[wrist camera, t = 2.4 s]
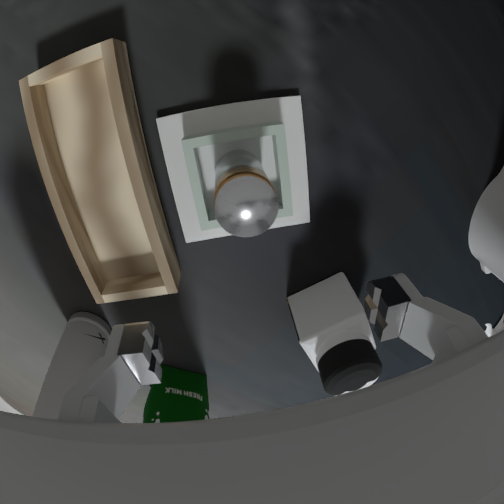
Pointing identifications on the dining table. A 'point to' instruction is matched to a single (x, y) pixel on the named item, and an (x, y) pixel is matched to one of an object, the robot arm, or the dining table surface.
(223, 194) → the cell
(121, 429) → the robot arm
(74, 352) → the travel mug
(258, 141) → the checker cradle
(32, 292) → the dining table surface
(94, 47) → the trough
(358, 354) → the medicine bottle
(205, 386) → the milk carton
